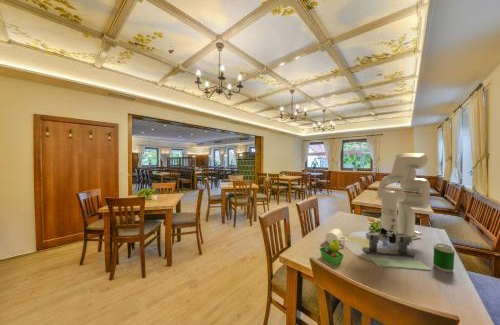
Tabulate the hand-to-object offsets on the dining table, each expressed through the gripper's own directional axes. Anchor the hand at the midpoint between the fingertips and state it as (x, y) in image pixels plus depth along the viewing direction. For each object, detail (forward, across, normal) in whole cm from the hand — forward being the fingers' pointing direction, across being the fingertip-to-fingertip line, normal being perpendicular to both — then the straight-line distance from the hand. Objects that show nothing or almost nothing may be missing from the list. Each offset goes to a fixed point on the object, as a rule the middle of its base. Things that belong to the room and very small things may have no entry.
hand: (387, 239), depth 118 cm
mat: (+8, -12, 0) cm, 14 cm away
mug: (+9, +9, +26) cm, 29 cm away
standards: (+8, 0, 0) cm, 8 cm away
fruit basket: (+9, -14, +35) cm, 38 cm away
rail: (0, 0, 0) cm, 0 cm away
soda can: (+9, -13, -20) cm, 25 cm away
